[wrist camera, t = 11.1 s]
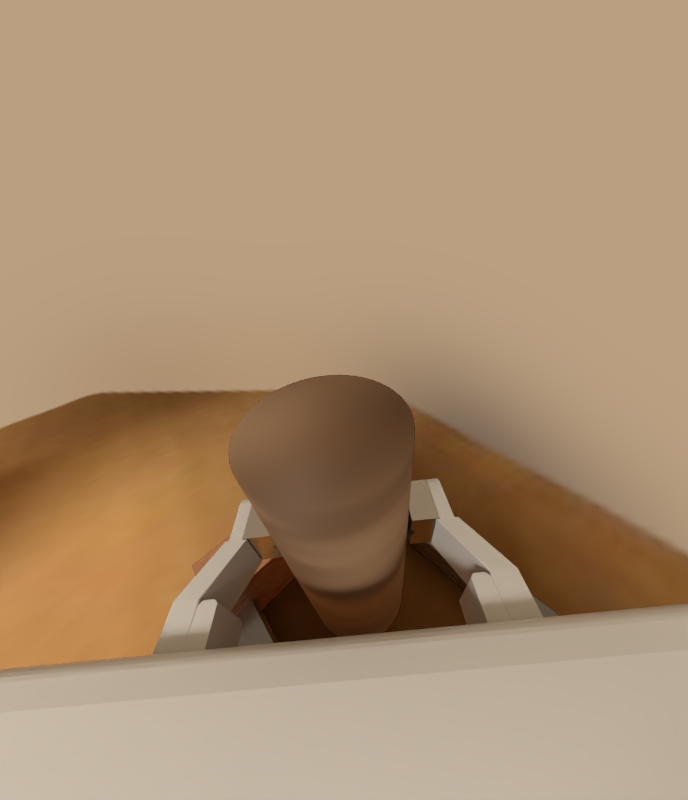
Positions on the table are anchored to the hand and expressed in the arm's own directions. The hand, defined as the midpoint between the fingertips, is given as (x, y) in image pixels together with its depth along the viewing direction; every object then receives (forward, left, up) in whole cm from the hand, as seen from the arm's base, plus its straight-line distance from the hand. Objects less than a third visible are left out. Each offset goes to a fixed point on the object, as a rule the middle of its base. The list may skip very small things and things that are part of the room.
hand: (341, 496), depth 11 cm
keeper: (+1, -1, -7) cm, 7 cm away
